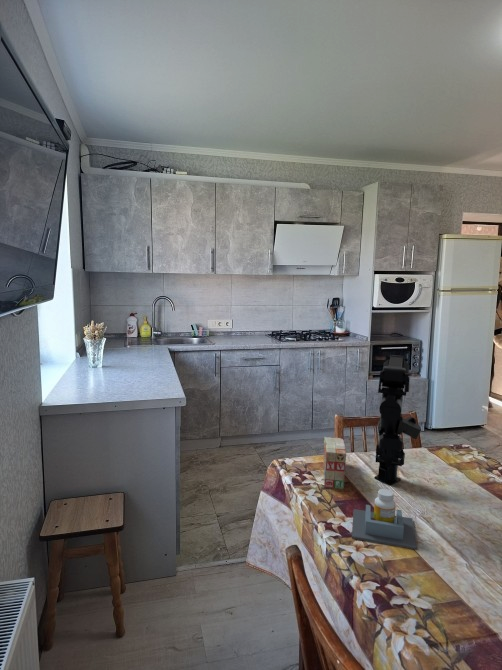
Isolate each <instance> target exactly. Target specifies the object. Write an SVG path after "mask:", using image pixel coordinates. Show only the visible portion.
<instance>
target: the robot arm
mask: <svg viewBox="0 0 502 670" xmlns="http://www.w3.org/2000/svg"><path fill="white" fill-rule="evenodd" d="M382 366H383V367H382V370H379V371H380V372H379V378H378V379H379V381H378V390H377V391H378V392H377V393H378V394H381V401H380V404H379V408H378V409H379V410H378V411H379V415H380V419H379V420H378V421H377V432H378V436H379V437H378V444H377V443H376V447H375V463H377V464H378V472H377V473H378V474H377V475H375V476H374V477H373V479H375V480H378V481H379V482H382V483H384V484H387V485H389V486H392V485H394V484H396V483H398V482H400V481H402V478H401V477H398V468H399V467H401V468H402V466H404V465H405V458H406V456H405V455H406V452H405V451H404V448H403V446H404V443H403V438H402V437H401V436H402V434H404V435H407V436H409V437H411V438H412V439H414V440H418V438H419V436H420V433H421V432H422V428H421V425H420V424H419V423H417V420H416V418H415V417H413V416H409V417H408V418H403V413H402V410H403V409H402V408H403V398H404V397H403V396H405V397H406V396H407V393H410V380H411V379H410V378H411V377H410V376H409V374H410V364H409V363H408V362H407V361H406V360H405V356H403V355H395V354H390V355H388V359H387V360H386V361H384V362H383V365H382ZM400 435H401V436H400Z"/></svg>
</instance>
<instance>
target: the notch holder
mask: <svg viewBox="0 0 502 670" xmlns="http://www.w3.org/2000/svg"><path fill="white" fill-rule="evenodd" d="M352 512H353V513H352V514H353V515H352V528H351V539H354V540H360V541H366V542H371V543H377V544H383V545H388V546H394V547H401V548H404V549H406V548H407V549H411V550H416V551H417V550H418V541H417V538H416V531H415V527H414V520H413V518H411V517H408V516H403V512H402V509H396V513H395V520H394V523H388V522H382V521H376V520H373V518H374V511H371V505H369V504H365V510H363V509H362V510H361V509H356V508H355V509H354V508H353V509H352Z"/></svg>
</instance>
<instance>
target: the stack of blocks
mask: <svg viewBox="0 0 502 670" xmlns="http://www.w3.org/2000/svg"><path fill="white" fill-rule="evenodd" d="M346 460H347V452H346V445H345V442H344V439H343V438H342V437H329V436H328V437H327V436H323V478H324V479H323V480H324V481H323V485H324V486H323V488H325V489H336V490H337V489H339V490H344V488H345V472H346Z"/></svg>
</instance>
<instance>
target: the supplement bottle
mask: <svg viewBox="0 0 502 670" xmlns="http://www.w3.org/2000/svg"><path fill="white" fill-rule="evenodd" d="M394 494H395V493H394V492H393V490H390V489H387V488H380V489H379V490H378V492H377V497H376V498H375V499H374V506H373V507H374V508H373V512H374V518H373V520H376V521H382V522H388V523H394V520H395V516H396V507H397V506H396V501H395V500H394Z"/></svg>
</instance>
